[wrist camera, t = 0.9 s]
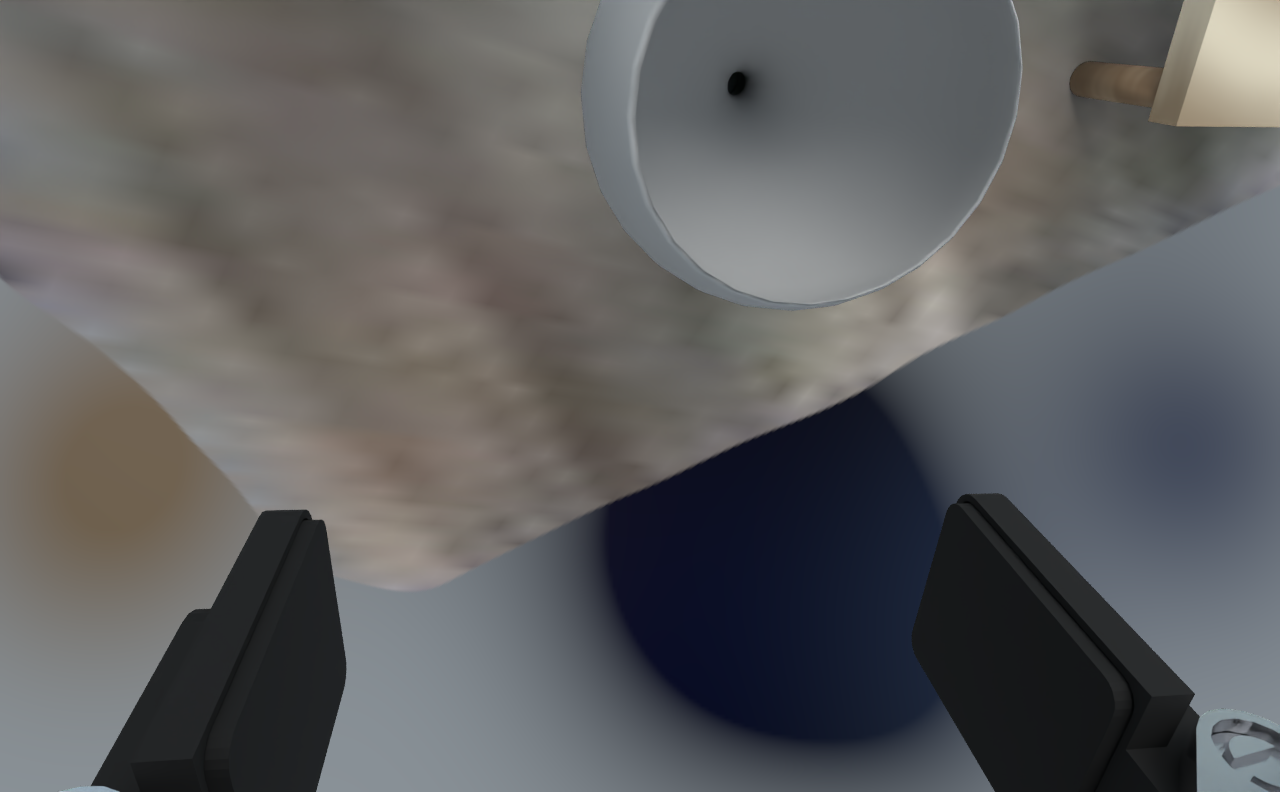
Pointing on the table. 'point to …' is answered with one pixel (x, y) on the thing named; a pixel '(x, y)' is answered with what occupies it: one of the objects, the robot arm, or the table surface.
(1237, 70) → the stool
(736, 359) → the table surface
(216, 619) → the robot arm
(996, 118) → the chalice
